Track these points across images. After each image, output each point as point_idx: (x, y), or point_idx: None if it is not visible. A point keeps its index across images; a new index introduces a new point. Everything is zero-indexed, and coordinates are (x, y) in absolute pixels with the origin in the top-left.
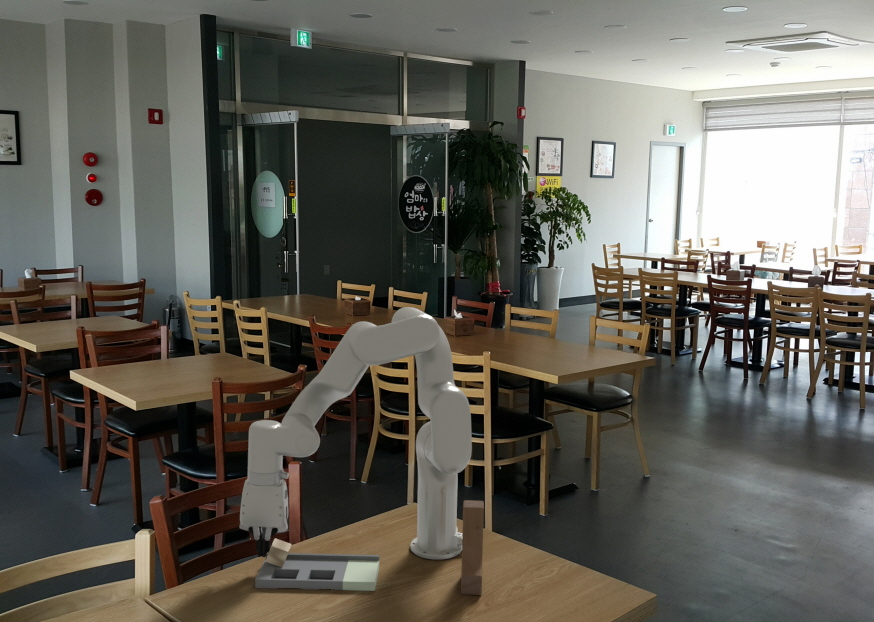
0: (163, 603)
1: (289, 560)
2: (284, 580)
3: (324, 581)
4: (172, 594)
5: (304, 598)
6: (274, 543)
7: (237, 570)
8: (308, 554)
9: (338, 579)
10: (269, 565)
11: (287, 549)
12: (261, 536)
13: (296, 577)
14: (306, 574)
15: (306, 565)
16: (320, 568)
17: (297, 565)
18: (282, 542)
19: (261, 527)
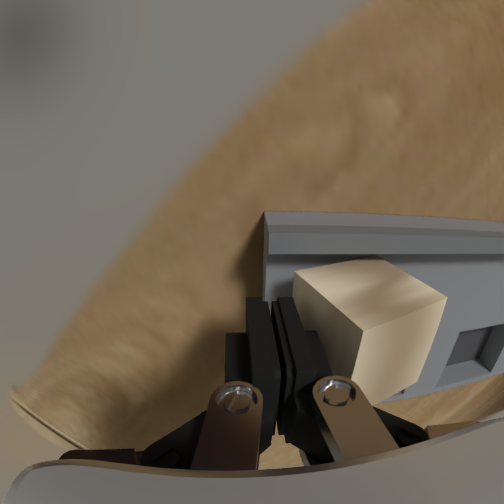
0: (59, 425)
1: (393, 263)
2: None
3: (471, 381)
4: (47, 398)
5: (405, 408)
6: None
7: (141, 272)
8: (479, 249)
9: (502, 366)
10: None
11: (418, 368)
12: (270, 443)
13: None
14: (439, 363)
15: (453, 302)
16: (486, 316)
17: None
18: (405, 333)
19: (258, 446)
